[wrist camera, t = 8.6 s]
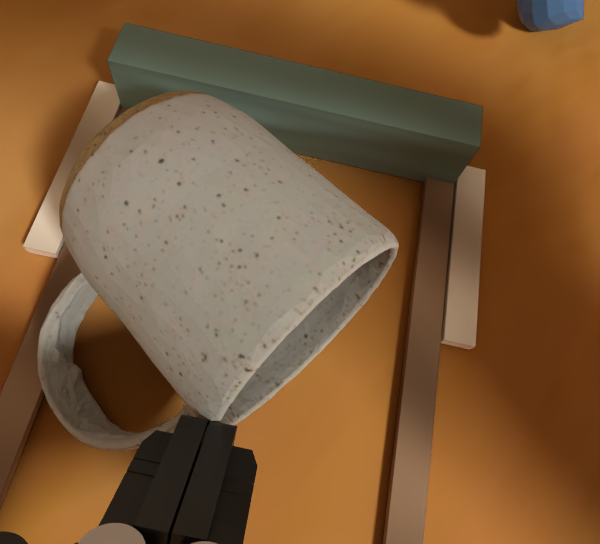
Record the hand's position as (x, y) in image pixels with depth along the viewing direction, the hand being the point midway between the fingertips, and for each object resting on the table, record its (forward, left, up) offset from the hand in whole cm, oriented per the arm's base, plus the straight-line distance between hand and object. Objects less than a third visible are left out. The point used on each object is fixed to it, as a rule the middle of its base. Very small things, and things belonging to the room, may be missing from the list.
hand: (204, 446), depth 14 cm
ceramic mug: (+1, -4, -4) cm, 6 cm away
